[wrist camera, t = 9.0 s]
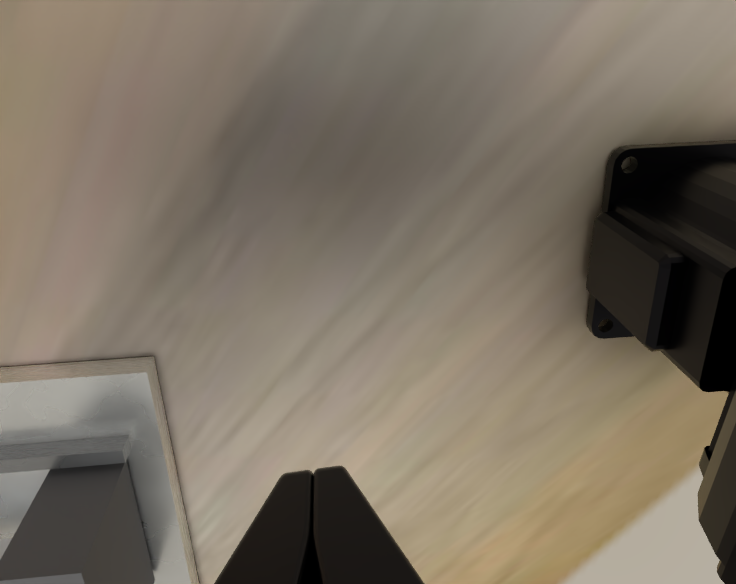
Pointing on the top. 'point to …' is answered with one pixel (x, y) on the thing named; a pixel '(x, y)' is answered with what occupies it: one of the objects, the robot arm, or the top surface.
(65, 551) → the block with white pegs
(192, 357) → the top surface
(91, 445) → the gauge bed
